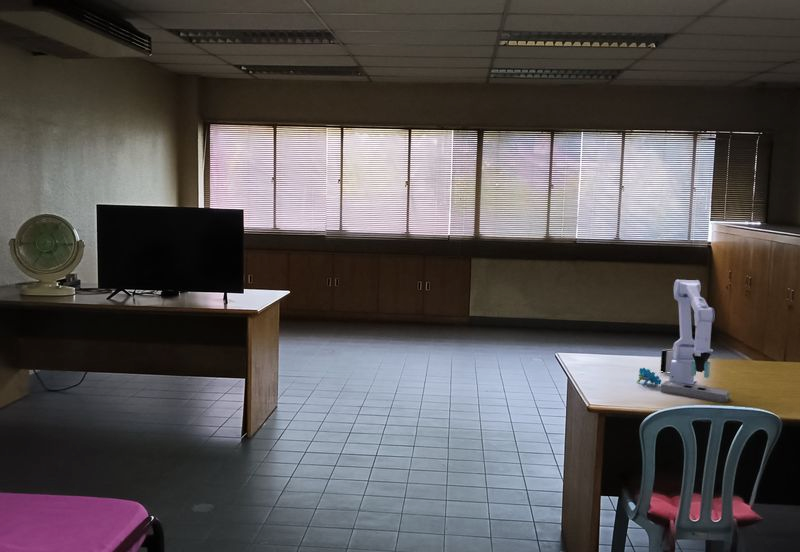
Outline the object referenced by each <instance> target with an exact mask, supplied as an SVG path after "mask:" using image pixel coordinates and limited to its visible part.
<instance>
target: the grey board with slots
mask: <svg viewBox="0 0 800 552" xmlns="http://www.w3.org/2000/svg"><path fill="white" fill-rule="evenodd" d="M661 391H662V392H661ZM660 392H661V393H665V392H666V393H667V394H671V393H672V395H677V396H682V397H689V398H696V399H700V400H701V399H702V400H707V401H712V402H718V403H724V404H725V403H726V402H727V401H728V400H729V399H730V392H731V391H730V390H724V389H721V388H719V389H718V388H713V387H707V386H706V387H705V386H701V385H694V384H686V383H679V382H673V381H669V380H666V381H664V382H661V384H660Z"/></svg>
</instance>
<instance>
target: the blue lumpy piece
mask: <svg viewBox="0 0 800 552" xmlns="http://www.w3.org/2000/svg"><path fill="white" fill-rule="evenodd" d="M638 372H639V373H638V379H637V381H636V383H637V382H641V381H644V382H643V383H642V386H644V385H645V386H646V385H647V384H648V382H649V383H651V384H654V385H656V384H657V385H660V386H661V384H662V380H661V379H660V376H658V375H656V372H654V371H652V372H651V369H649V368H645V367H640V368H639V371H638Z"/></svg>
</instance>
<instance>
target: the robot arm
mask: <svg viewBox="0 0 800 552" xmlns="http://www.w3.org/2000/svg"><path fill="white" fill-rule="evenodd" d="M701 288H702V285H701V282H700V280H699V279H696V280H695V279H694V280H690V279H689V280H687V279H676V280H675V281H674V283H673V297H674V298H673V299H674V300H675V301H677V305H678V321H679V339H678V340H676V341H675V342H674V343H673V347H674V348H673V347H672V349H673V357H674V359H675V360H672V361H671V365H670V373H669V379H668V381H671V382H677V383H683V384H689V385H694V384H695V383H696V382H697V380H696V379H695V376H692V375H691V364H692V360H695V365H696V373H697V372H698V373H704V372H703V371H704V364H705V361H707V362H709V361H708V360H709V358H710V357H711V353H712V352H714V349H712V348H711V339H712V338H711V337H712V336H711V335H712V326H713V325H712V324H713V323H714V321H715V318H716V317H715V310H714V309H715V308H714V307H710V306H709V305H708V303H707V301H706V299H705V298H704V297H702V296H701V294H700V293H701ZM691 308H692V310H693V312H694V313H693V314H694V315H693V316H694V326H695V332H694V335H695V337H694V338H693V331H692V329H693V328H692V313H691V312H692V310H691ZM710 352H711V353H710Z"/></svg>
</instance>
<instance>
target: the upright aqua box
mask: <svg viewBox="0 0 800 552" xmlns="http://www.w3.org/2000/svg"><path fill="white" fill-rule="evenodd" d="M710 369H711V362H710V361H705V364H704V372H703V378H705V379H707V378H709V377H710ZM691 375H692V376H694V377H695V376H696V375H697V371H696V365H695V360H692V364H691Z"/></svg>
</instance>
